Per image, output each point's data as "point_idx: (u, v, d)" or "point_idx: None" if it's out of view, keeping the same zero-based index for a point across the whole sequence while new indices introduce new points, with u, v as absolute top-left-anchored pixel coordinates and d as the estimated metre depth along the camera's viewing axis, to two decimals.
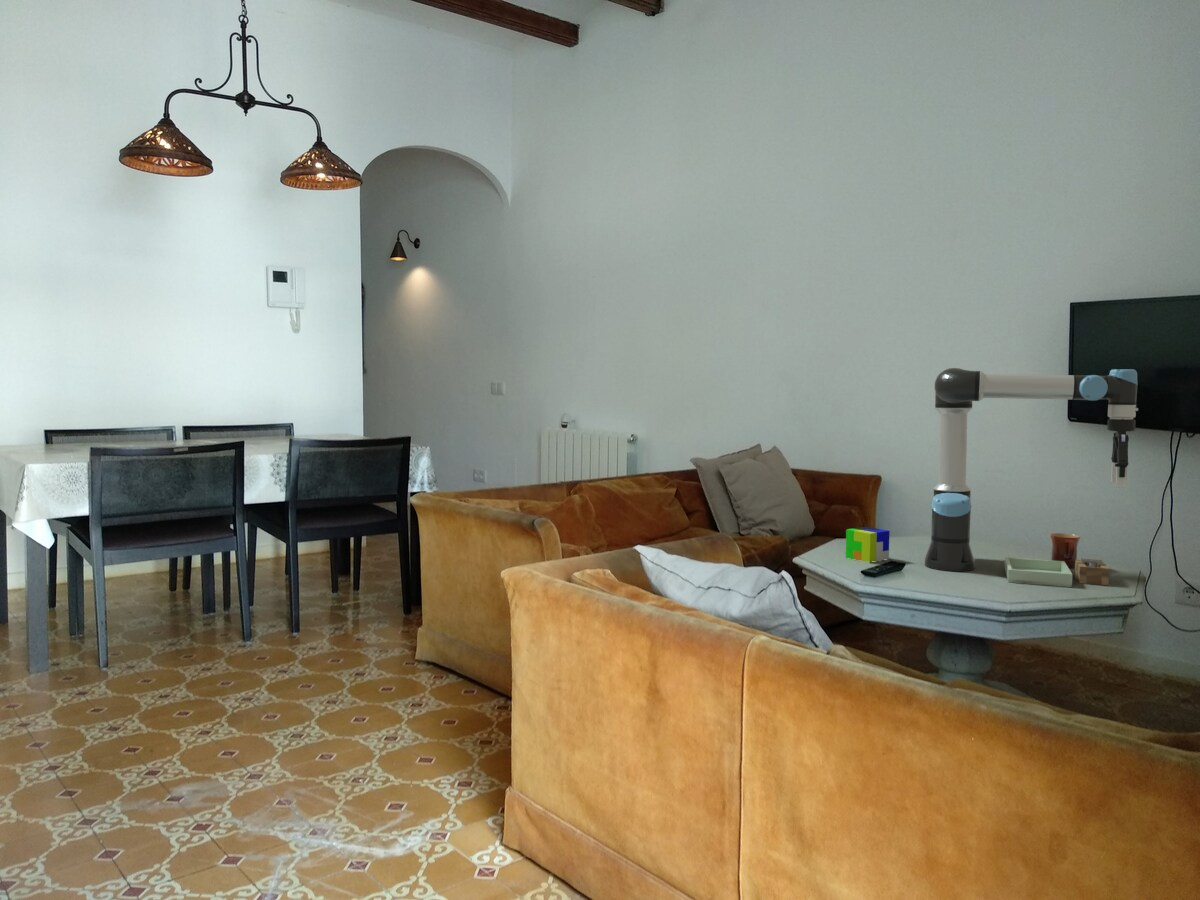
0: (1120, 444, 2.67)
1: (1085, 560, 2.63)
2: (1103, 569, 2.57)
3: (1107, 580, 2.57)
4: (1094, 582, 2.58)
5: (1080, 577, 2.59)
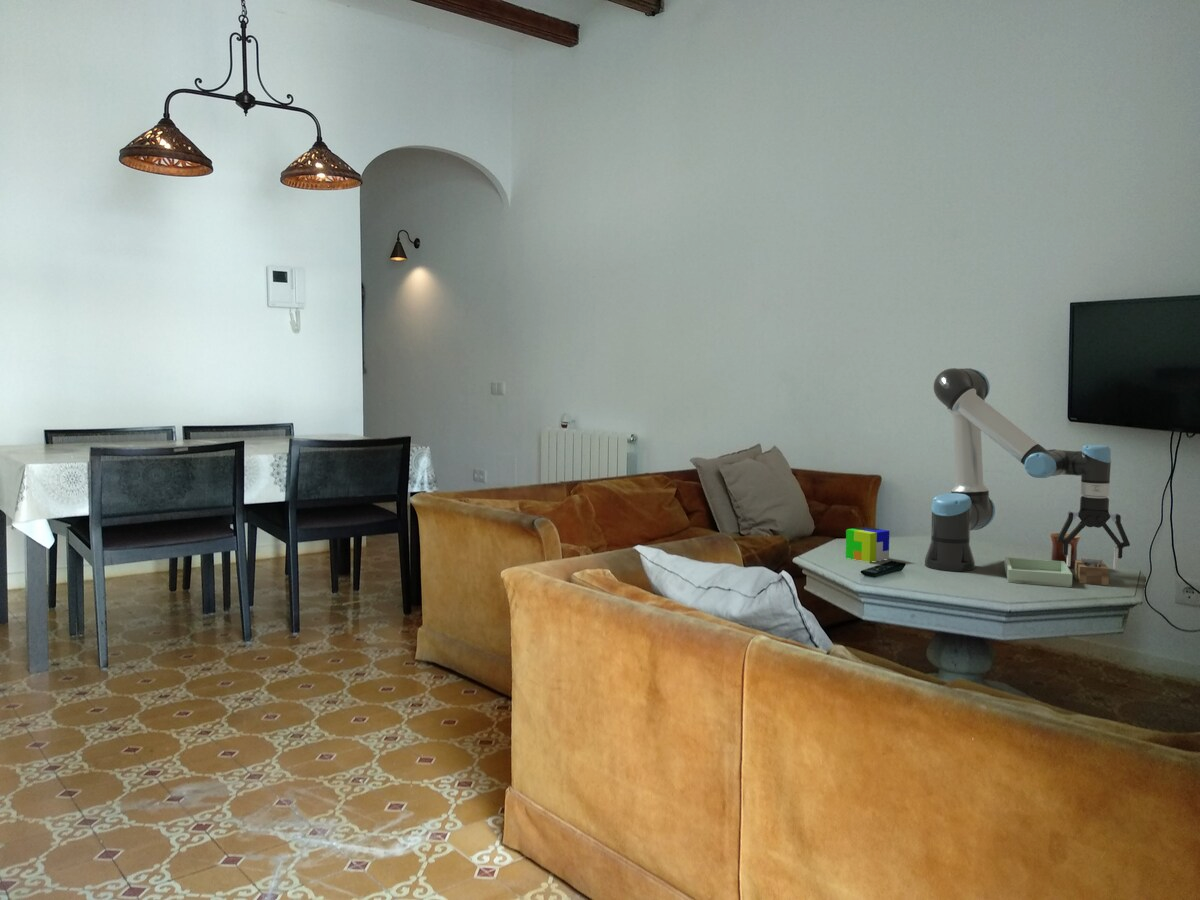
0: (1066, 521, 2.65)
1: (1085, 560, 2.63)
2: (1103, 569, 2.57)
3: (1107, 580, 2.57)
4: (1094, 582, 2.58)
5: (1080, 577, 2.59)
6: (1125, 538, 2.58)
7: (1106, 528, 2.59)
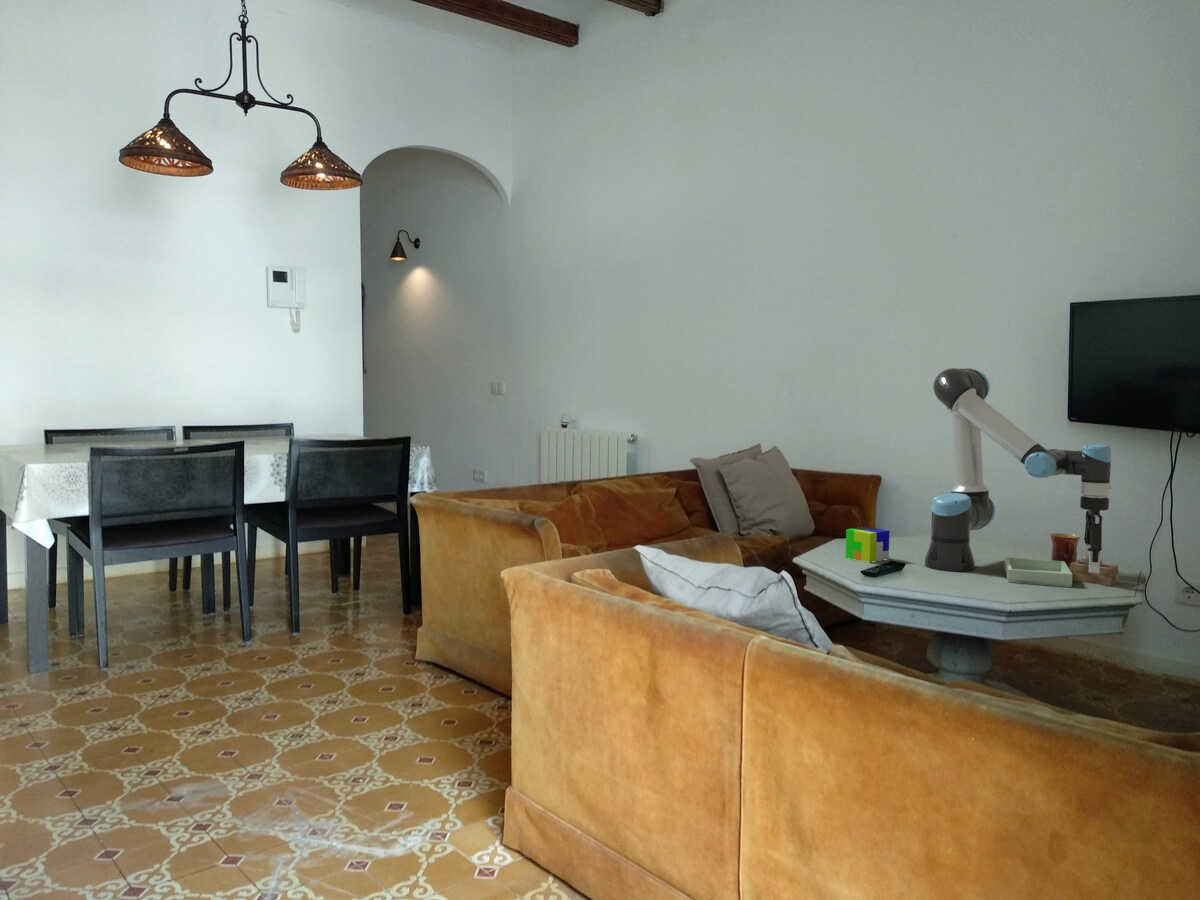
0: (1094, 527, 2.56)
1: (1085, 560, 2.63)
2: (1116, 567, 2.60)
3: (1117, 577, 2.61)
4: (1113, 581, 2.59)
5: (1109, 579, 2.56)
6: None
7: None
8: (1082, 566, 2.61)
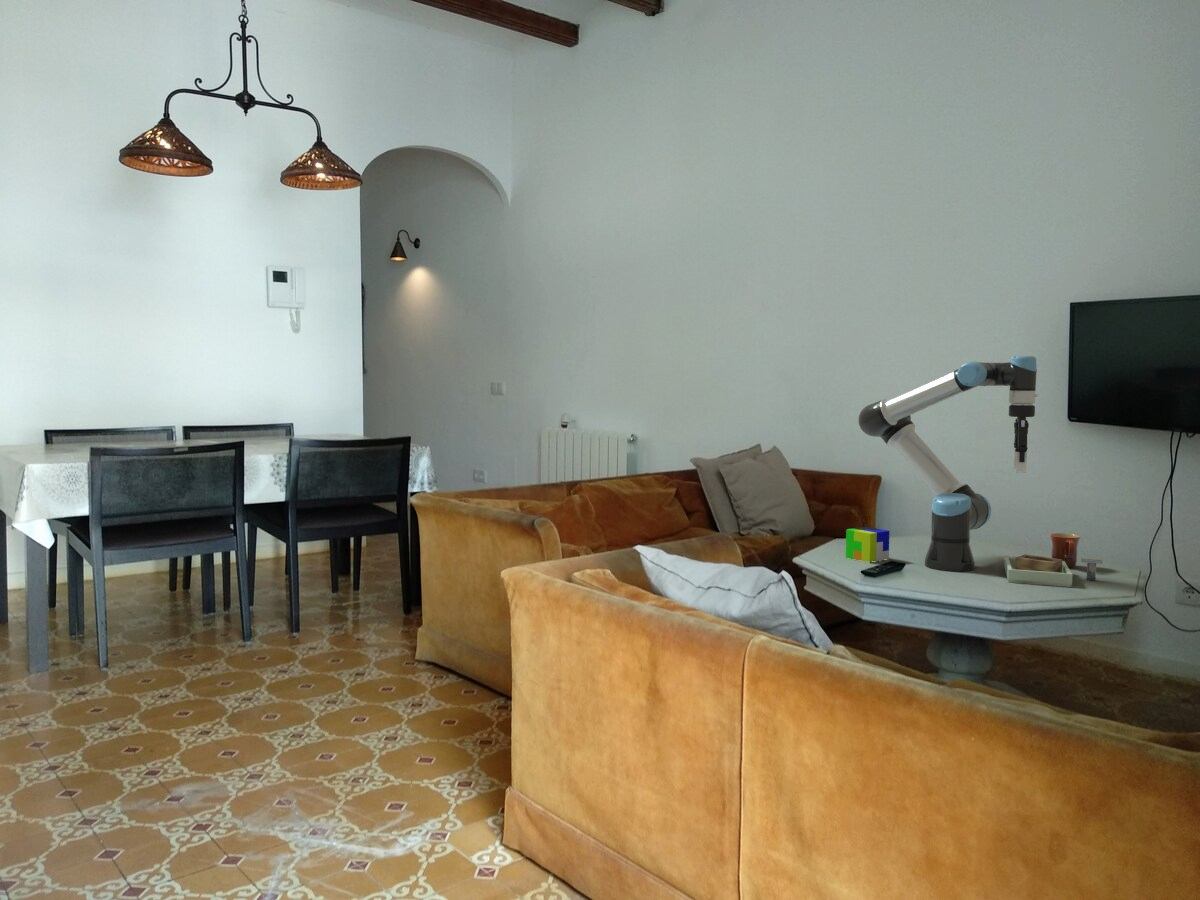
0: (1020, 429, 2.71)
1: (1085, 560, 2.63)
2: (1060, 561, 2.65)
3: (1061, 571, 2.66)
4: None
5: None
6: None
7: None
8: (1027, 560, 2.66)
